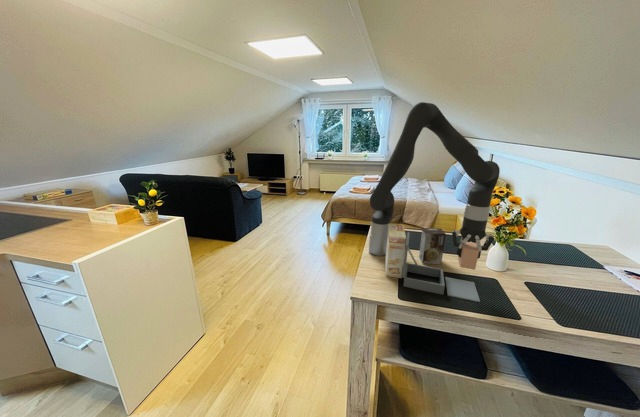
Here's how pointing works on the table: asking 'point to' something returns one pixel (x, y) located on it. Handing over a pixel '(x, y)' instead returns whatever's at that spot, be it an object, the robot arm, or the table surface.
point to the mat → (461, 289)
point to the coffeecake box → (395, 250)
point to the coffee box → (432, 245)
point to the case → (421, 270)
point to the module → (469, 256)
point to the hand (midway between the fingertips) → (467, 257)
